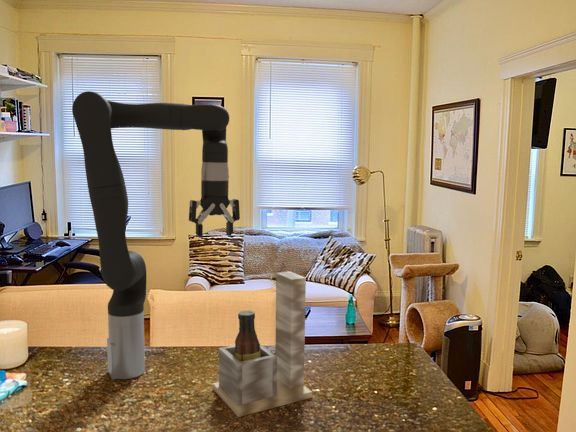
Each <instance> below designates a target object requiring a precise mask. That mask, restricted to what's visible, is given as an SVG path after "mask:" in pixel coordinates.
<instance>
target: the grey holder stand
mask: <svg viewBox="0 0 576 432" xmlns="http://www.w3.org/2000/svg"><path fill="white" fill-rule="evenodd" d="M275 276H276V277H275V279H276V283H275V348H274V349H275V354H274V353H273V352H272V351H271V350H270V349H268V348H267V347H265V346H264V345H262V343H260V342H259V344H260V356H261V358H256V359H251V360H246V361H241V362H240V361H239V360H238V359H236V358H235V344H233V345H228V346H223V347H219V348H218V381H216V382H213V383H212V390H213V391H214V393H216V394H217V396H219V397H220V399H221V400H222V401H223V402H224V403H225V404H226V405H227V406H228V408H230V410H231V411H232V412H233V413H234V414H235V415H236V416H237V418H241V417H243V416H244V417H245V416H248V415H251V414H255V413H258V412H259V413H260V412H263V411H266V410H270V409H274V408H278V407H281V406H282V407H283V406H285V405H290V404H293V403H295V402H299V401H300V402H301V401H304V400H308V399H312V398H313V391H312V390H311V389H309V388H308V387H307V386H305V385H304V384H305V346H306V345H305V344H306V343H305V341H306V338H305V336H306V335H305V334H306V294H307V292H306V289H307V288H306V287H307V286H306V285H307V284H306V283H307V282H306V280H307V278H306V277H305V276H302V275H300V274H298V273H295V272H292V271H289V270H288V271H280V272H276V275H275Z"/></svg>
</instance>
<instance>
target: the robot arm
mask: <svg viewBox="0 0 576 432" xmlns="http://www.w3.org/2000/svg"><path fill="white" fill-rule="evenodd" d="M72 103H73V104H72V108H71V111H72V116H73V119H74V122H75V126H76V128H77V132H78V135H79V139H80V142H81V147H82V150H83V160H84V168H85V175H86V176H85V177H86V183H87V190H88V194H89V199H90V200H89V201H90V205H91V209H92V212H93V220H94V224H95V230H96V235H97V240H98V241H97V242H98V249H99V262H100V264H99V265H100V273H101V276H102V280H103V281H104V283H105V285H106V286H107V287H108V288H109V289H111V290H113V291H112V295H111V297H110V299H109V301H108V303H107V329H108V330H107V331H108V337H107V339H106V346H107V348H106V349H107V351H106V352H107V372H108V375H109V376H110V378H111V380H128V379H129V380H130V379H134V378H138V377H140V376H142V375H143V374H144V373H145V371H146V362H145V361H146V360H145V358H146V356H145V353H146V351H145V318H144V317H145V311H144V310H145V309H144V307H145V305H144V304H145V302H146V297H147V266H146V262H145V260H144V258H143V257H142V255H141V254H139V253H138V252H136V251H132V250H129V248H128V244H127V243H128V242H127V237H126V230H127V229H126V228H127V219H128V214H129V213H128V212H129V198H128V192H127V186H126V182H125V178H124V173H123V170H122V167H121V164H120V162H119V159H118V156H117V154H116V151H115V148H114V144H113V136H112V129H119V128H121V129H123V128H141V129H143V128H145V129H156V130H170V131H171V130H172V131H173V130H174V131H190V130H197V131H199V130H200V131H201V132H202V133H201V134H202V135H201V136H202V148H201V150H202V151H201V153H202V155H201V157H202V158H201V159H202V160H201V162H202V163H201V174H200V176H201V177H200V181H201V182H200V184H201V185H200V194H201V195H200V196H201V198H200V200H194V199H190V200H189V210H188V221H189V222H191V223H194V224H195V235H196V236H197V237H198V238H199V239H201V238H203V237H204V235H203V232H204V231H203V227H204V226H203V222H204V221H205V220H206V218H208V216H222V217H224V218H225V220H226V225H225V226H226V227H225V228H226V229H225V230H226V231H225V234H226V235H225V236H227V237H231V236H232V235H233V233H234V223H235V222H236V221H237V222H238V221H240V219H241V217H240V215H241V214H240V200H239V199H236V198H232V199H229V178H230V175H229V163H228V162H229V160H228V159H229V149H228V148H229V147H228V143H227V127H228V126H229V124H230V114H229V112H228V110H227V109H226V108H225V107H223V106H221V105H219V104H186V103H176V102H175V103H173V102H153V103H152V102H149V103H136V104H135V103H123V102H117V101H112V100H107V98H106V97H104V96H103V95H101V94H100V93H97V92H96V91H95V92H94V91H90V90H89V91H87V90H86V91H84V92H81V93H79V94H78V95H77V96H76V97H75V99H74V101H73V102H72ZM199 206H200V207H201V210H200V212H199V214H198V216H197V209H198V208H199ZM229 206H230V208H231V209H232V211H231V213H232V215H231V213H230V211H229V210H228V207H229Z"/></svg>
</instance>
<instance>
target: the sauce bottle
mask: <svg viewBox="0 0 576 432" xmlns="http://www.w3.org/2000/svg"><path fill="white" fill-rule="evenodd" d="M255 314H256V313H255V312H254V311H252V310H243V311H239V312H238V314H237V315H238V316H237V317H238V321H239V322H238V325H239V328H238V334H237V335H236V338H235V340H234V341H235V342H234V345H235V358H236V359H238V360H239V361H240V362H241V361H246V360H251V359H256V358H261V356H260V344H261V343H260V342H259V339H258V335H257V331H256V326H255V318H256V315H255ZM259 343H260V344H259Z"/></svg>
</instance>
